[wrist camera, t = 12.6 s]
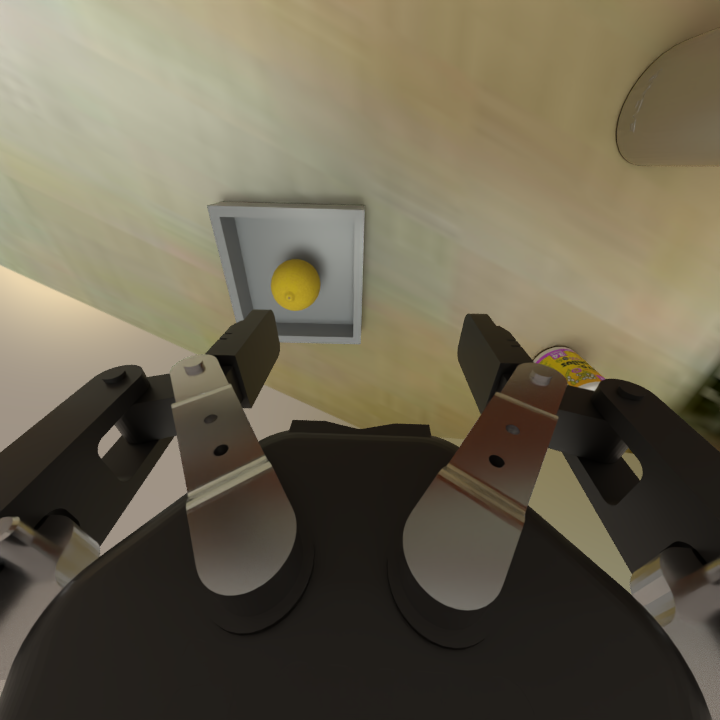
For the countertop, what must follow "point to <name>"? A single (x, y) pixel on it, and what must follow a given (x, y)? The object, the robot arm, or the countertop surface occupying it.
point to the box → (294, 241)
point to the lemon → (295, 284)
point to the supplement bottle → (570, 367)
